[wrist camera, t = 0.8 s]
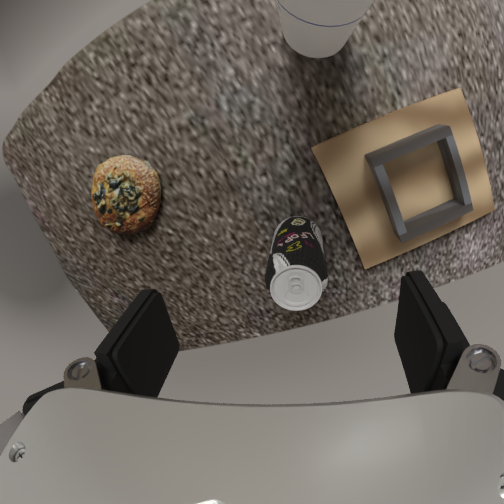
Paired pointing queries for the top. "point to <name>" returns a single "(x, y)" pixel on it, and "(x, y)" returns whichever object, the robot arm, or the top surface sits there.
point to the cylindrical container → (320, 24)
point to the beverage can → (296, 264)
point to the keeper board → (407, 176)
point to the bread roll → (126, 194)
